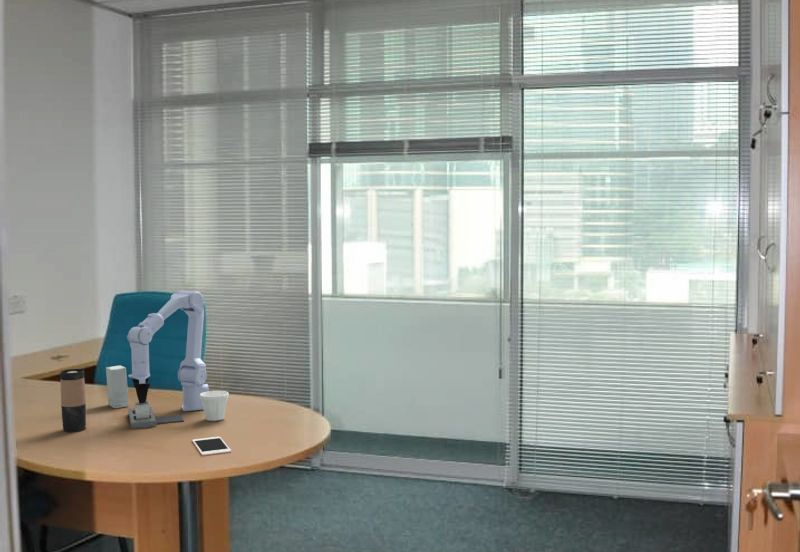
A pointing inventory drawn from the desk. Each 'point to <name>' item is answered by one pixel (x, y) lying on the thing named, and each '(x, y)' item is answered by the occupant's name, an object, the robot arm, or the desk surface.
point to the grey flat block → (141, 420)
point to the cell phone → (211, 446)
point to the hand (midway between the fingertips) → (141, 400)
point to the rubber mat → (169, 419)
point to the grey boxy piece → (142, 410)
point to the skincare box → (117, 386)
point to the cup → (214, 404)
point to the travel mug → (73, 400)
